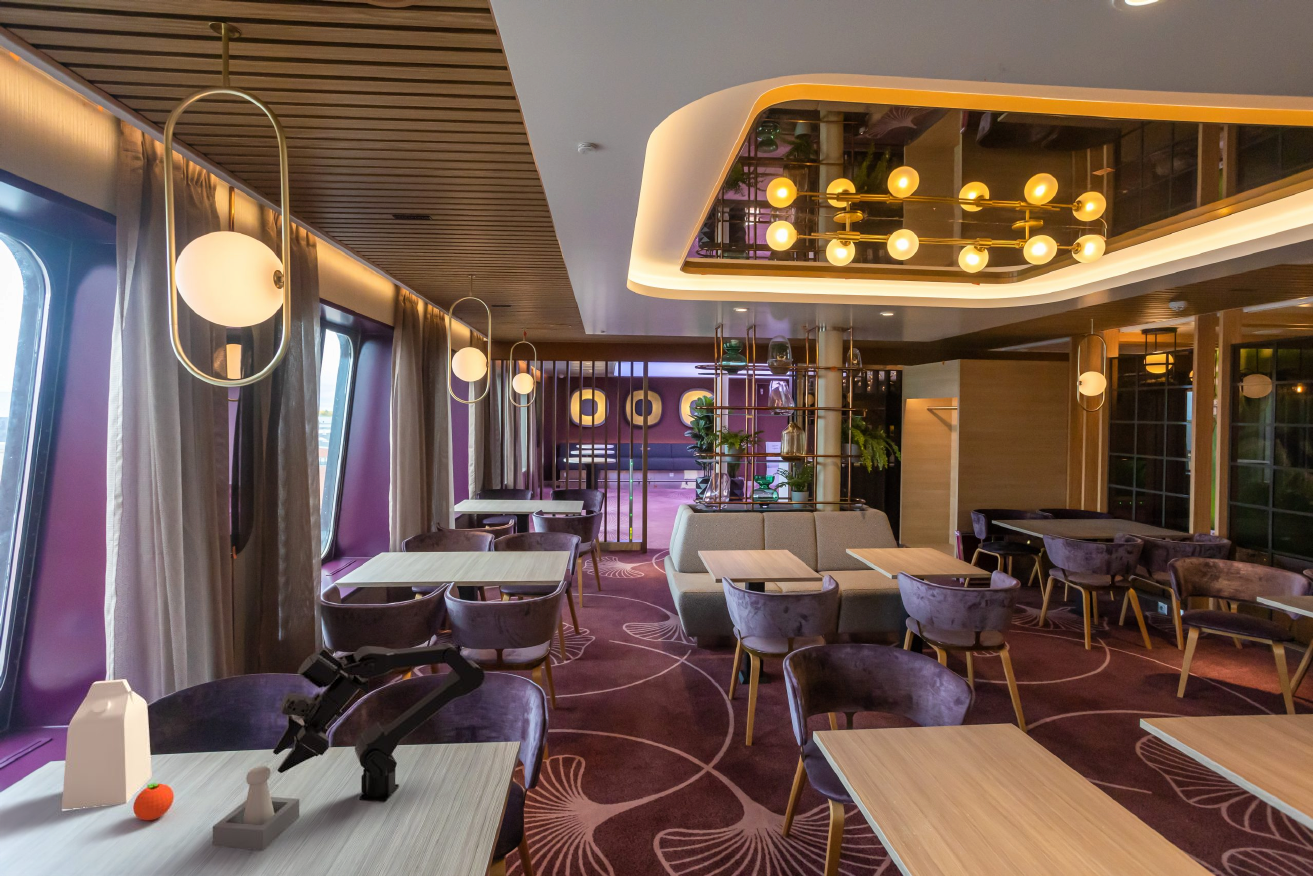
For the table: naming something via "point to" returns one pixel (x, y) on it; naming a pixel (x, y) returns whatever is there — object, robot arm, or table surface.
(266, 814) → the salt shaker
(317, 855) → the table surface
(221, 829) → the well block
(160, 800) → the clementine
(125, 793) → the milk
